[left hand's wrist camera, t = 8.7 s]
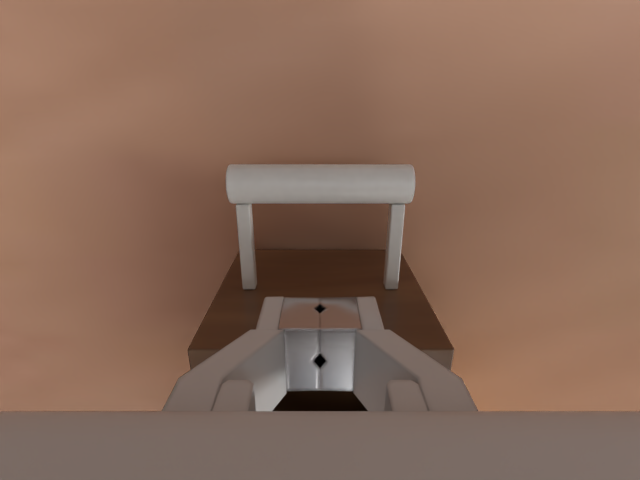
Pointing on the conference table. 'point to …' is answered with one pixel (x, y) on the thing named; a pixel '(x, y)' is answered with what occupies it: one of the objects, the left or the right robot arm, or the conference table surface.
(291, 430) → the left robot arm
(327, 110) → the conference table surface
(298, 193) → the drawer
